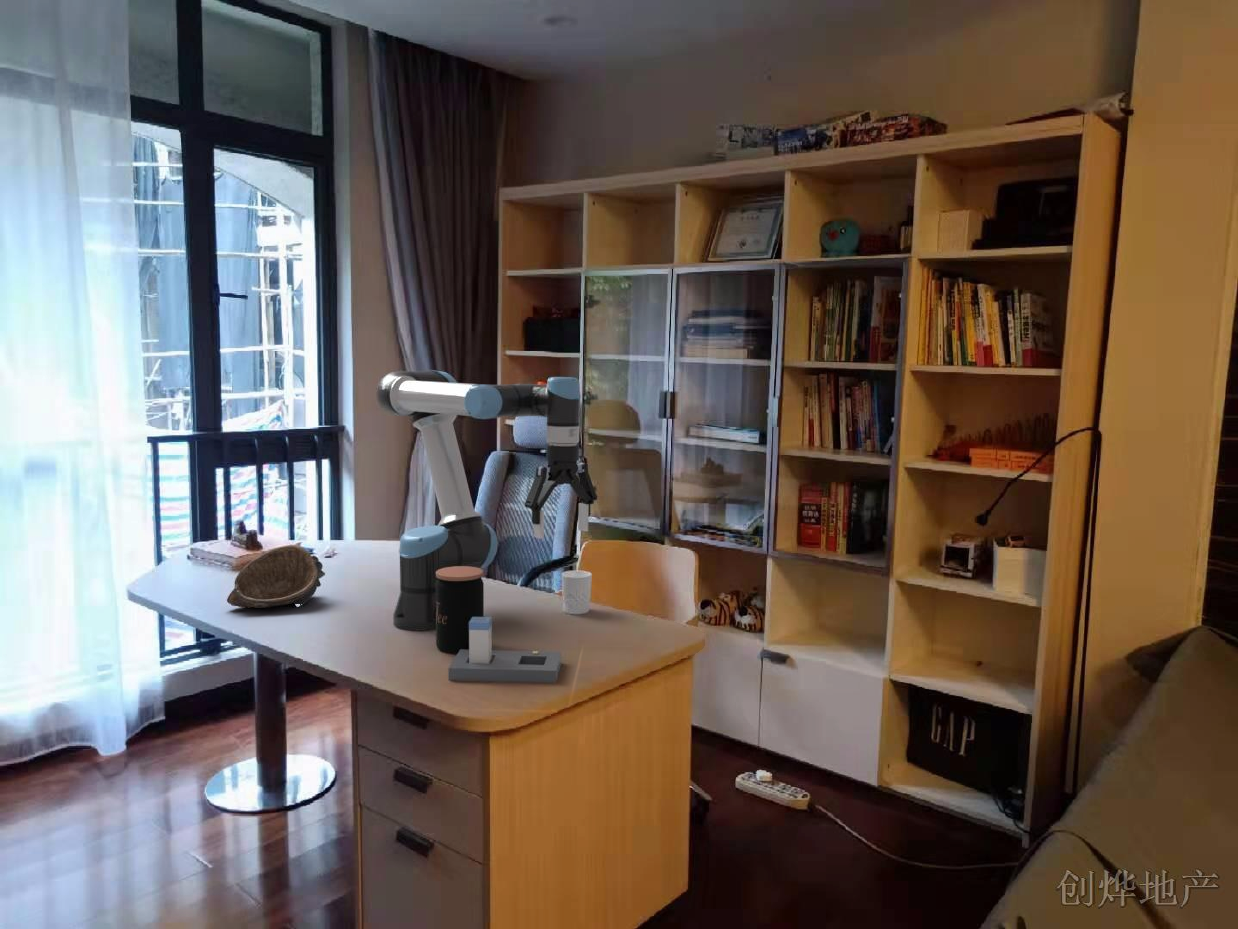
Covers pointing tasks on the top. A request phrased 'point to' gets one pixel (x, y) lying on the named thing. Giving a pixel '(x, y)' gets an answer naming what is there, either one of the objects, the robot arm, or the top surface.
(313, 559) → the coconut shell half
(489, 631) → the milk carton
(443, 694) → the top surface
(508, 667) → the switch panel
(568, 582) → the white cup
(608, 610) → the top surface
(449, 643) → the coffee jar
